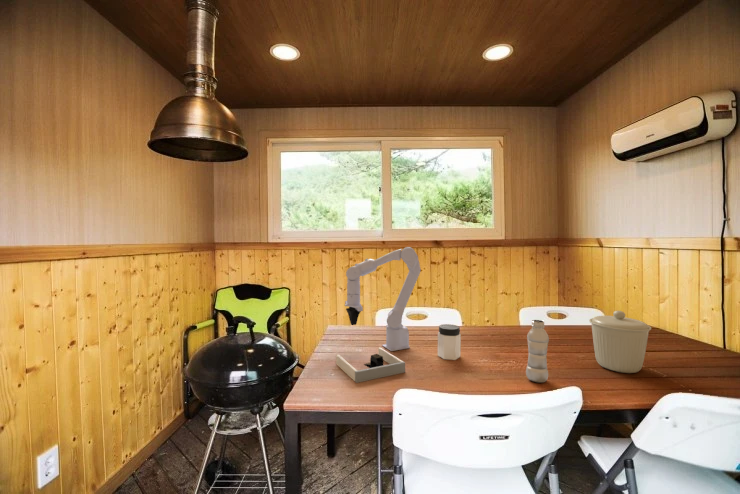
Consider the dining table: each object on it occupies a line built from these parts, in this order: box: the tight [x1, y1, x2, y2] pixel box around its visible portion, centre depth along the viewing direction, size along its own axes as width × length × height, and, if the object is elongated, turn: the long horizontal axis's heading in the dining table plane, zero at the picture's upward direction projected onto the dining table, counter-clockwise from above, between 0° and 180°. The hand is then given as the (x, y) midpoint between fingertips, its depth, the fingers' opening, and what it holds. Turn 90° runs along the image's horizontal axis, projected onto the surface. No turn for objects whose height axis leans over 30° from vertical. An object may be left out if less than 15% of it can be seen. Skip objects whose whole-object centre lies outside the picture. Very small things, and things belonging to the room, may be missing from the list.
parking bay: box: [335, 347, 406, 384], centre depth 120 cm, size 19×18×4 cm
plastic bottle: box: [525, 319, 550, 383], centre depth 109 cm, size 6×7×20 cm
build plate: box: [363, 353, 385, 368], centre depth 121 cm, size 12×7×5 cm, turn 36°
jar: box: [437, 323, 462, 361], centre depth 132 cm, size 9×8×12 cm
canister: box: [588, 310, 652, 374], centre depth 121 cm, size 18×18×21 cm
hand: (353, 324), depth 145 cm, fingers closed
